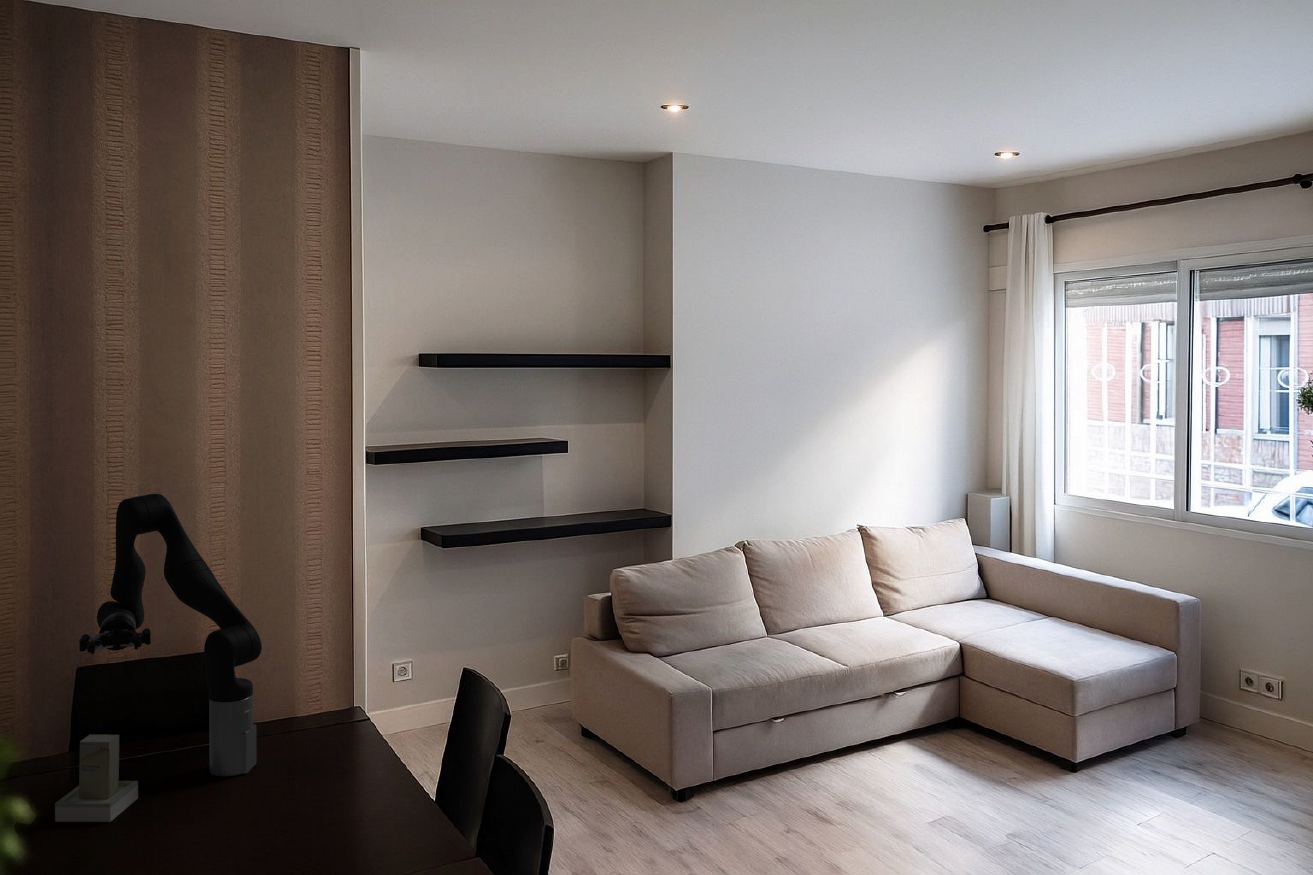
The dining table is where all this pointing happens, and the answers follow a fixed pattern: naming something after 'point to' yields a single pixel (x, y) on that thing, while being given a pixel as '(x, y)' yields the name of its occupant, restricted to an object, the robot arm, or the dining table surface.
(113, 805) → the shallow open tray
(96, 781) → the skincare box
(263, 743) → the dining table surface
